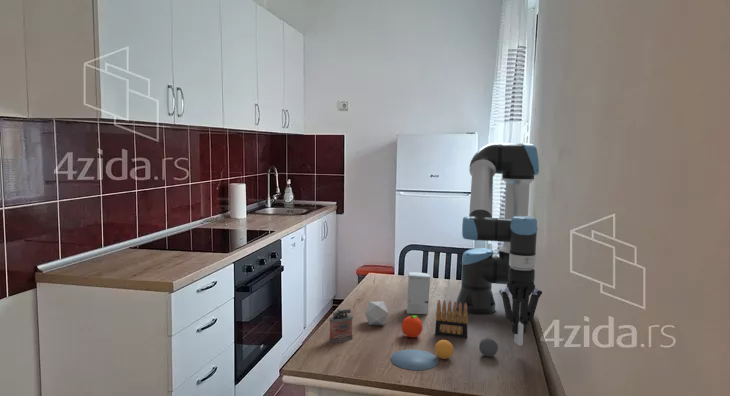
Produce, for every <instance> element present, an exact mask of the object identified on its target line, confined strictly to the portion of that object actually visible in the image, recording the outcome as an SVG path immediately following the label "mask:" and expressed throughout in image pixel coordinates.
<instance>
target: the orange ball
mask: <svg viewBox="0 0 730 396" xmlns="http://www.w3.org/2000/svg"><path fill="white" fill-rule="evenodd" d="M434 352H435V354H436V355H435V356H436V357H437V358H439V359H442V360H448V359H449V358H450V357H452V356H453V353H454V346H453V344H452V343H451V341H449V340H446V339H441V340H438V341H437V342H436V344H435V345H434Z"/></svg>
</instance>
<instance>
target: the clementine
mask: <svg viewBox="0 0 730 396" xmlns="http://www.w3.org/2000/svg"><path fill="white" fill-rule="evenodd" d="M420 318H421V317H420V316H418V315H409V316H407V317H405V318H404V319H403V320H402V323H401V331H402V333H403V334H404V335H405V336H406V337H408V338H416V337H418V336H420V334H421V333H422V331H423V322H422V320H421V319H420Z"/></svg>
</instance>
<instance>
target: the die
mask: <svg viewBox="0 0 730 396" xmlns="http://www.w3.org/2000/svg"><path fill="white" fill-rule="evenodd" d="M364 312H365V313H364V315H365V317H366V320H367V322H368V326H385V322H386V320H387V318H388V315H389V311H388V309H387V306H386V303H385V302H384V301H369V302H368V305H367V307H366V310H365V311H364Z"/></svg>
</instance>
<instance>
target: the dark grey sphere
mask: <svg viewBox="0 0 730 396" xmlns="http://www.w3.org/2000/svg"><path fill="white" fill-rule="evenodd" d="M478 348H479V352H480V353H481V354H482V355H483V356H485V357H488V358H491V357H494V356H495V355H496V354H497V353H498V351H499V350H498V349H499V346H498V343H497V341H496V340H495V339H493V338H491V337H484V338H483V339H481V340H480V342H479V347H478Z"/></svg>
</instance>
